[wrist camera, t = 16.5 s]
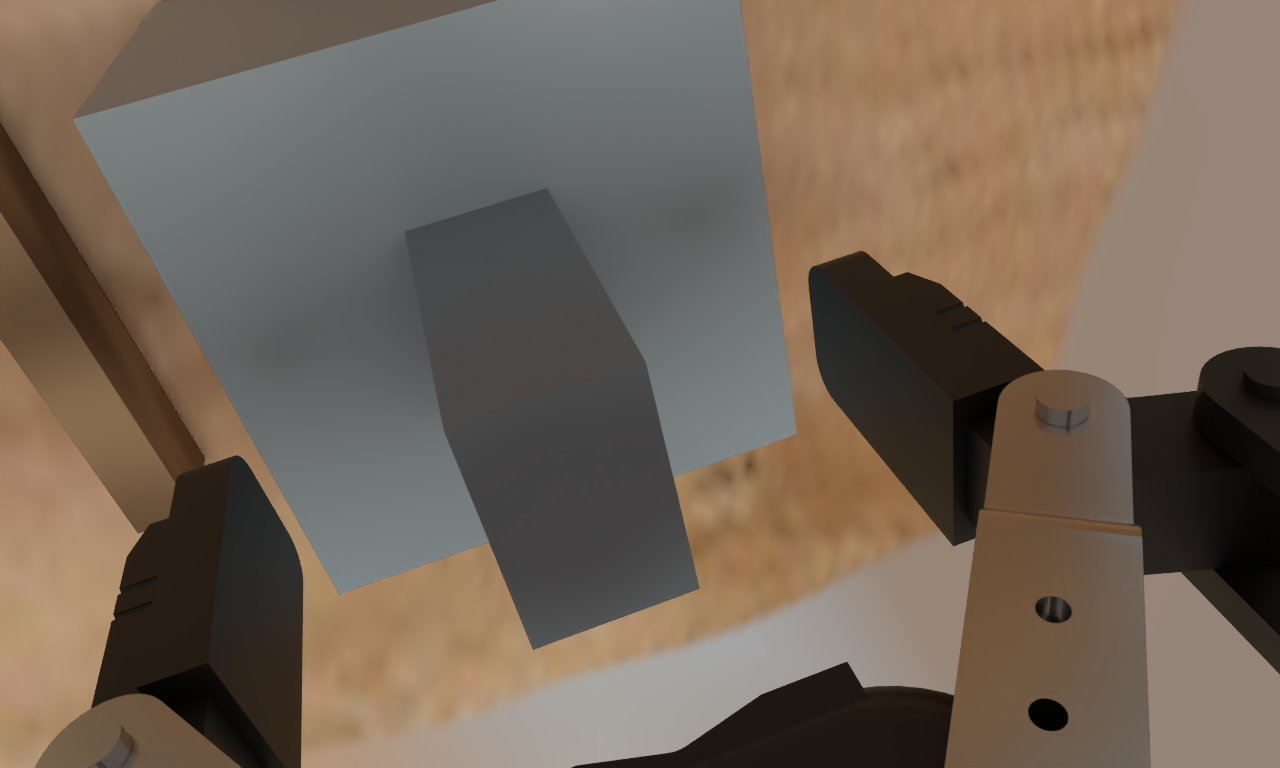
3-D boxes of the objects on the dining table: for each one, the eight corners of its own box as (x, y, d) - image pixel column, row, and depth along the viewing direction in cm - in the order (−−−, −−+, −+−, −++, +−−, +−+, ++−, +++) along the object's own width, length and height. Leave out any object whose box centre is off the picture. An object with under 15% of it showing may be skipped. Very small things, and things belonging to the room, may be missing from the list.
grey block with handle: (156, 3, 21) (-64, 307, 9) (596, -115, 22) (933, 10, 10) (332, 376, 27) (346, 865, 15) (673, 266, 28) (944, 634, 16)
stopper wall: (-199, -52, 19) (-262, -32, 17) (-120, -72, 19) (-172, -54, 17) (151, 476, 27) (138, 533, 25) (204, 458, 27) (195, 514, 25)
